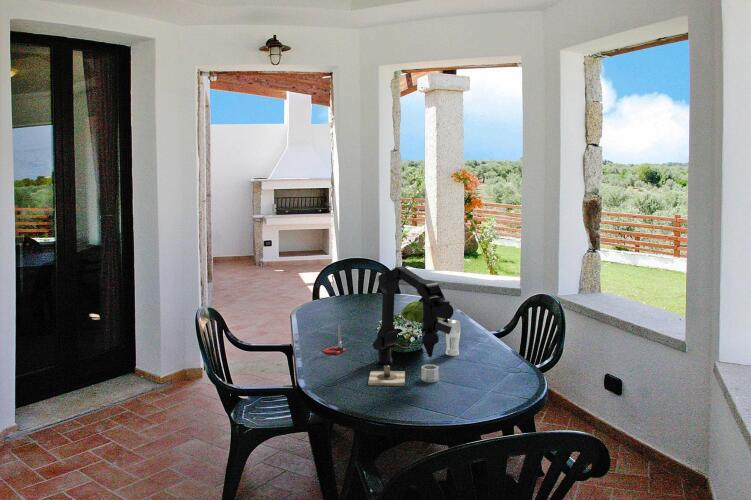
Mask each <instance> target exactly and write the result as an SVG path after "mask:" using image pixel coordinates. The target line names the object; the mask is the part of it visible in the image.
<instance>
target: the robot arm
mask: <svg viewBox="0 0 751 500" xmlns="http://www.w3.org/2000/svg"><path fill="white" fill-rule="evenodd" d="M400 281H403V282H405V283H407V285H410V287H412V288H414V289H415V290H416V292H417V294H418V295H419V296H420V298H419V299H418V301H419V302H422V336H421V341H422V344H423V346H424V349H425V351H426V355H427V357H428V358H432V357H433V353H434V348H435V345H437V344H438V343H439V341H440V339H439V338H440V337H439V334H438V332H442V333H444V334H445V333H446V334H450V331H451V328H452V325H451V324H450V323H448V320H451V318H452V317H453V316H454V308H453V306H452V304H450V301H449V300H446V298H445V295H444V293H443V291H442V290H441V288H440V284H439V283H438V282H436V281H434V280H431V279H425V278H423V277H421V276H419V275H418V274H416V273H414V272H413V271H411V270H410V269H408V268H407V266H396V267H394V268H392V269H390V270H389V271H387V272H382V273H380V275H379V276H378V287H379V289H380V290H381V292H382V303H381V304H382V306H381V326H380V328H379V329H378V331H377V335H376V339H375V340H374V341H373V342H372V349H374V350H377V358H376V365H392V364H393V358H392V349H393V348H396V345H397V342H398V340H399V331H398V329H396V328H395V326H394V322H395V321H394V317H395V315H394V313H395V294H396V291H397V290H398V288H399V284H400ZM438 317H439V318H442V320H441V321H440V320H438ZM438 330H439V331H438Z"/></svg>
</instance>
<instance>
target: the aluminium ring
mask: <svg viewBox="0 0 751 500" xmlns="http://www.w3.org/2000/svg"><path fill="white" fill-rule="evenodd" d="M420 372H421V377H420V378H421V382H424V383H430V384H431V383H437V382H440V367H439V365H435V364H424V365H421V371H420Z"/></svg>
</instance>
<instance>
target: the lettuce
mask: <svg viewBox="0 0 751 500" xmlns="http://www.w3.org/2000/svg"><path fill="white" fill-rule="evenodd" d="M399 315H402V316H403V317H404V318H405V319H407V320H411V321H416V322H419V323H422V302H419V300H414V301H413V302H410V303H408V304H406V305H405V307H404V308H403V309H402V310H401V312H400V314H399ZM438 320H440V321H441V320H443V318H439V317H438ZM438 332H440V331H439V330H438Z"/></svg>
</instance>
